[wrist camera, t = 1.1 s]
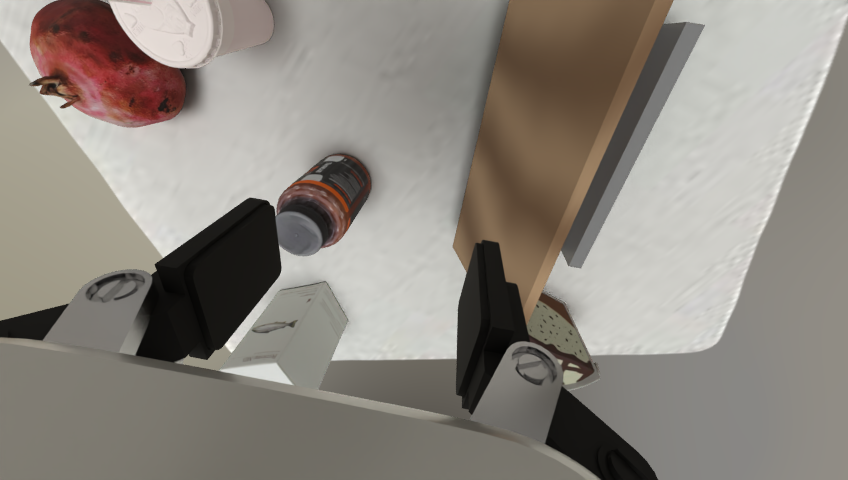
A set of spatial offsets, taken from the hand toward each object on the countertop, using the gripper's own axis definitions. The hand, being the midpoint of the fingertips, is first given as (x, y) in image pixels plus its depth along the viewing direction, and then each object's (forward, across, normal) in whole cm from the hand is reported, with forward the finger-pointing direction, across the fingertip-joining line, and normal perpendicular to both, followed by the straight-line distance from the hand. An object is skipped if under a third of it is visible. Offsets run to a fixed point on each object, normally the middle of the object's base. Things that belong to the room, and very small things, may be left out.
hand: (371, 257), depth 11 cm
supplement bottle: (+22, +8, +7) cm, 24 cm away
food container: (+22, -14, +19) cm, 32 cm away
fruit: (+22, +26, -1) cm, 34 cm away
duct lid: (+12, -7, 0) cm, 14 cm away
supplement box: (+22, +12, +26) cm, 36 cm away
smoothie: (+22, +16, -6) cm, 28 cm away
